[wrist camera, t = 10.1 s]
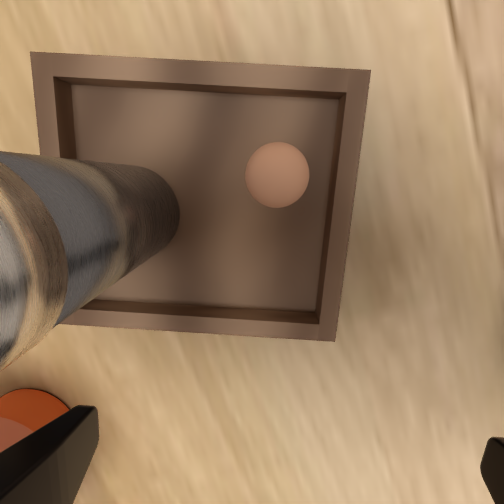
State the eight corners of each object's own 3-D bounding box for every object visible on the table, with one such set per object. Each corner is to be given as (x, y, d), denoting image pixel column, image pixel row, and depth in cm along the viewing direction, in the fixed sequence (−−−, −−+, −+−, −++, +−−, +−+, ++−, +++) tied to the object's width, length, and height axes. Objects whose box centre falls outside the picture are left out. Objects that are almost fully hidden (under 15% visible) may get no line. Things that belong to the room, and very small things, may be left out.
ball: (317, 136, 14) (311, 208, 15) (306, 151, 17) (302, 210, 18) (245, 131, 14) (241, 204, 15) (247, 148, 17) (244, 207, 18)
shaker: (163, 151, 17) (-94, 79, 5) (193, 245, 19) (49, 389, 6) (72, 178, 18) (-384, 177, 5) (107, 268, 19) (-199, 446, 6)
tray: (355, 84, 17) (370, 70, 15) (326, 321, 21) (335, 341, 18) (61, 68, 17) (30, 51, 15) (80, 306, 21) (57, 323, 18)
